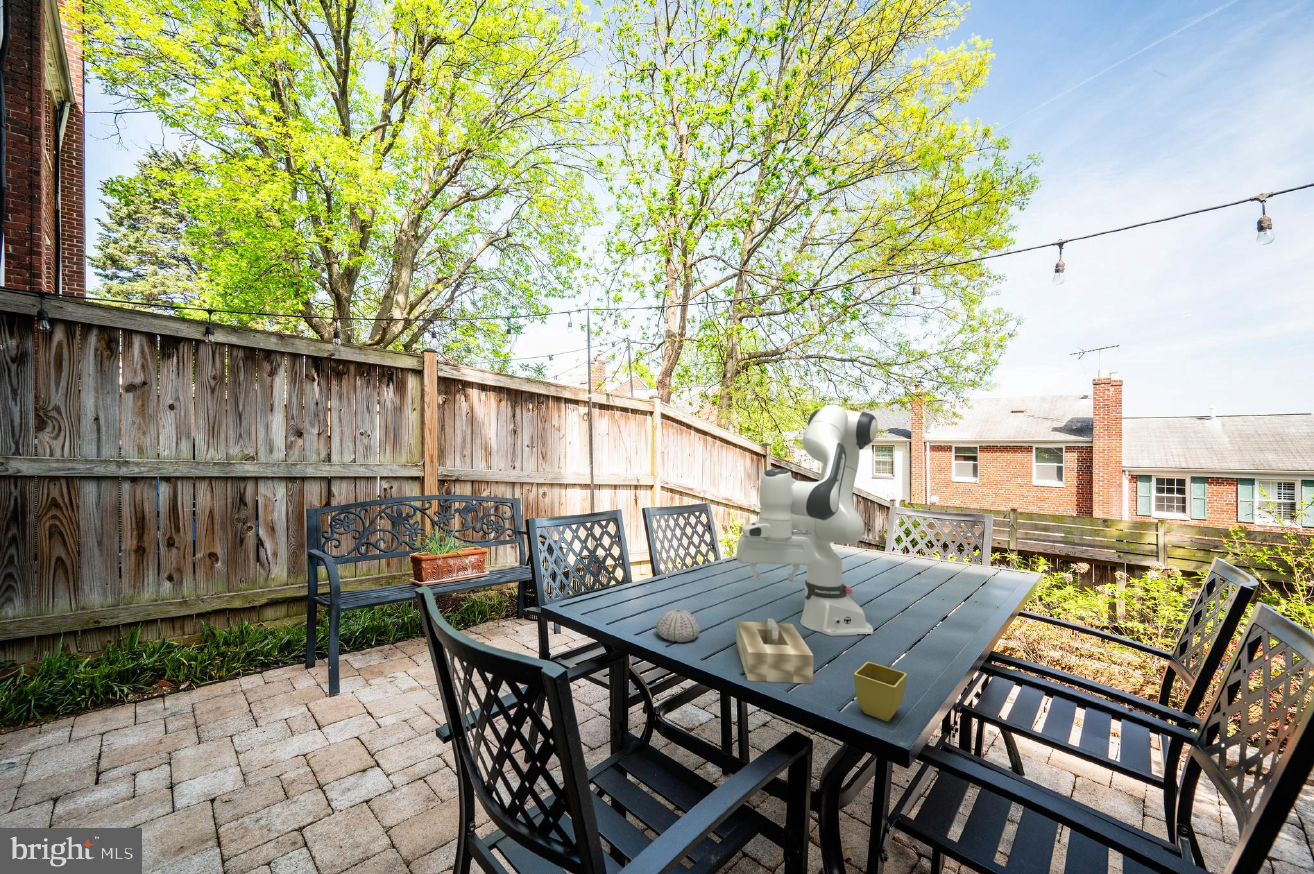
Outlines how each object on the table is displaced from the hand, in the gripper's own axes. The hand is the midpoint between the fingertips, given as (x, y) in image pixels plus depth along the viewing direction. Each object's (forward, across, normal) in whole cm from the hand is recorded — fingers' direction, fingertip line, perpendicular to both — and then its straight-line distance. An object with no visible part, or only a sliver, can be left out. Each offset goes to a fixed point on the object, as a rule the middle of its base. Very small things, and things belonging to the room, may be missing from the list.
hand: (773, 580), depth 136 cm
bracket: (+21, 0, 0) cm, 21 cm away
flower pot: (+22, -19, +24) cm, 38 cm away
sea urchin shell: (+22, +25, -16) cm, 37 cm away
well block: (+22, 0, 0) cm, 22 cm away
